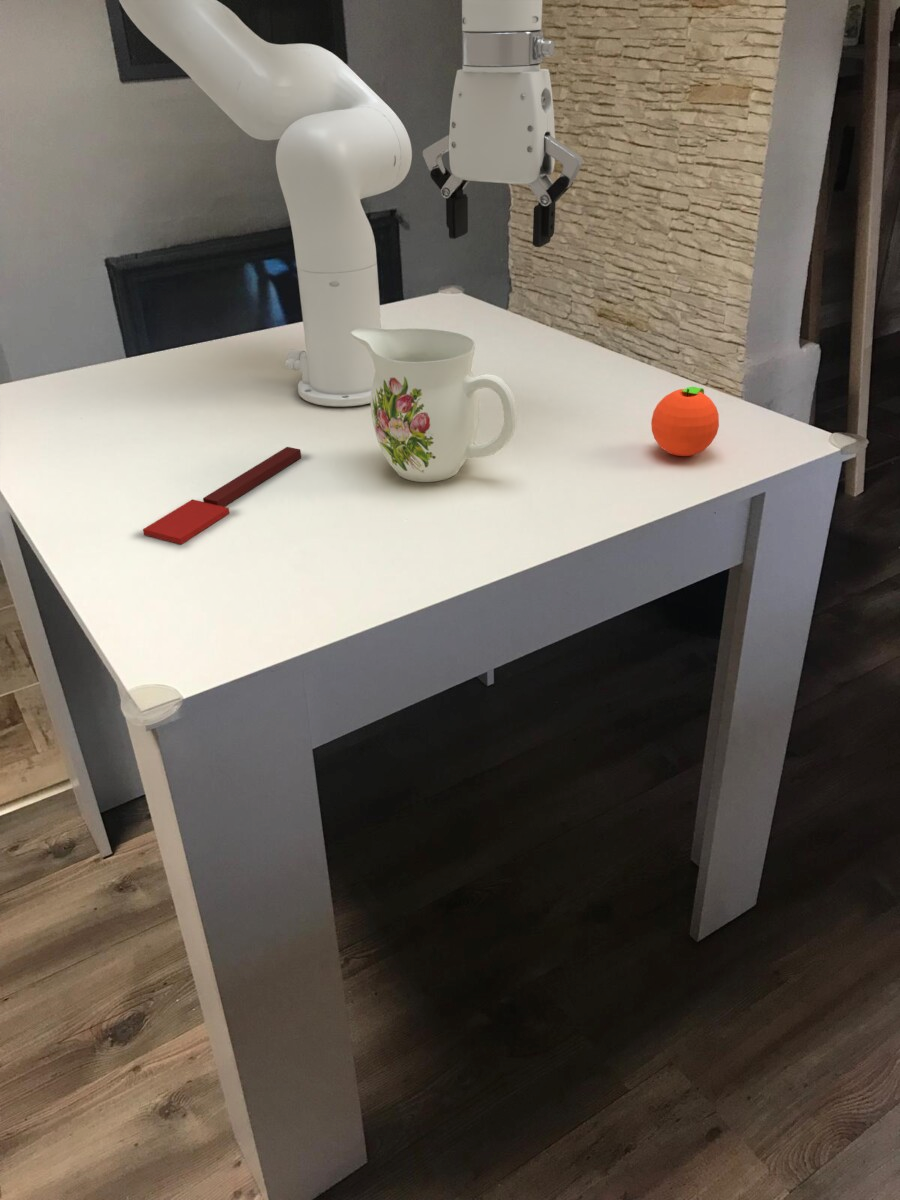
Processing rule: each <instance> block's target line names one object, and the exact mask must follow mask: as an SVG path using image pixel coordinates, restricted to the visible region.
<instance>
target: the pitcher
mask: <svg viewBox="0 0 900 1200" xmlns="http://www.w3.org/2000/svg"><path fill="white" fill-rule="evenodd" d="M351 336H352V337H353V338H354V339H356V340H357V341H359V342H360V343H361V344H362V345H364V346H365V347H366V348H367V350H368V352H369V354H370V356H371V358H372V360H373V363H374V367H375V370H376V371H375V375H374V380H373V384H372V389H371V403H370V413H371V418H372V425H373V429H374V433H375V437H376V439H377V442H378V444H379V447H380V449H381V451H382V453H383V456H384V458H385V459H386V461H387V462H388V464H389V465H390V466H391V468H392V469H393V470H394V471H395V472H396V473H397V475H398V476H399V477H400V478H402V479H405V480H408V481H412V482H416V483H417V482H418V483H433V482H440V481H445V480H447V479H450V478H452V477H453V476H455V475H457V474H458V473H459V471H460V469H461V468H462V467H463V465H464V463H466V460H467V459H478V458H486V457H489V456H492V455H495V454H496V453H498V452H500V451H501V450H502V449H504V448H505V446H507V444H508V443H509V442H510V441H511V439H512V437H513V435H514V433H515V430H516V426H517V404H516V399H515V396H514V393H513V391H512V390H511V388H510V386H509V385H508V384H507V382H506V381H505V380H504V379H503V378H501V377H500V376H498V375H495V374H481V375H478V376H474V373H473V371H472V369H473V368H472V367H473V361H474V355H475V348H476V343H475V341H474V340H473V339H472V338H471V337H469V336H468V335H465V334H462V333H459V332H454V331H449V330H443V329H432V328H381V329H371V328H367V329H356V330H353V331H352V332H351ZM480 389H489V390H492V391H493V392H494V393H496V395H497V396H498V397H499V399H500V402H501V404H502V410H503V423H502V427H501V430H500V432H499V433H498V434H497V436H495V437H494V438H493V439H491V440H489V441H487V442H483V443H475V440H476V436H477V431H478V427H479V422H480V395H479V394H480V393H479V390H480Z"/></svg>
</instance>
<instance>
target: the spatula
mask: <svg viewBox="0 0 900 1200" xmlns="http://www.w3.org/2000/svg"><path fill="white" fill-rule="evenodd" d="M301 458H302V452H301V449H300V448H296V447H295V448H294V447H291V446H286V447H284V448H282V449H281V450H279V451H277V452H276V453H274V454H273V455H271V456H269V457H268V458H266V459H264V460H263V461H261V462H260V463H258V464H256V465H254V466H253V467H251V468H249V469H248V470H247V471H244V472H243V473H242V474H240V475H238V476H237V477H235V478H233V479H232V480H230V481H229V482H227V483H225V484H223V485H222V486H221V487H218V488H217V489H216V490H213V491H212V492H211V493H209V494H208V495H205V496H204V497H203V498H202V501H200V500H197V499H193V498H191V499H190V500H189V501H187V502H185V503H184V504H182V505H181V506H179V507H177V508H176V509H174V510H172V511H171V512H169V513H167V514H165V515H164V516H162V517H161V518H158V519H157V520H156V521H154V522H152V523H151V524H149V525H147V526H146V527H144V528H142V531H143V535H144V536H148V537H151V538H155V539H159V540H163V541H167V542H171V543H175V544H178V545H183V544H184V543H186V542H188V541H189V540H190V539H192V538H194V537H195V536H196V535H198V534H200V533H201V532H203V531H204V530H206V529H207V528H208V527H210V526H213V525H214V524H215V523H216V522H218V521H220V520H221V519H224V518H225V517H226V516H228V515H229V514H230V509H229V507H227V505H229V504H230V503H232V502H234V501H236V500H237V499H239V498H241V496H243V495H245V494H246V493H248V492H250V491H251V490H253V489H254V488H256V487H257V486H259V485H260V484H262V483H263V482H265V481H267V480H269V479H270V478H271V477H273V476H274V475H276V474H278V473H279V472H281V471H283V470H284V469H286V468H287V467H289V466H291V465H292V464H294V463H295V462H297V461H298V460H300V459H301Z"/></svg>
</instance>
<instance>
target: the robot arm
mask: <svg viewBox="0 0 900 1200" xmlns="http://www.w3.org/2000/svg"><path fill="white" fill-rule="evenodd" d="M118 1H119V3H120V5H121V7H122V9H123V10H124V12H125V13H126V15H127V16H128V17H129V19H130V21H131V22H132V23H133V24H134V25H135V26H136V28H137V29H138V30H139V31H140V32H141V33H142V34H143V35H144V36H145V37H146V38H147V39H148V40H149V41H150V42H151V43H152V44H153V45H154V46H155V47H156V48H158V49H159V50H160V51H161V52H162V53H163V54H164V55H165V56H167V57H168V58H169V59H170V60H172V61H173V62H174V63H175V64H176V65H177V66H178V67H179V68H181V70H182V71H183V72H184V73H186V75H188V76H189V77H190V78H191V80H192V81H193V82H194V84H196V85H197V87H198V88H200V89H201V90H202V91H203V92H204V93H205V94H206V95H207V96H208V97H209V98H210V99H211V100H212V101H213V103H215V105H216V106H218V108H219V109H221V111H223V112H224V113H225V115H227V116H228V117H229V118H230V120H231V121H233V123H235V124H236V126H238V127H239V128H240V129H241V130H242V131H243V132H244V133H245V134H247V135H248V136H250V137H252V138H254V139H256V140H259V141H260V140H261V141H277V140H278V143H277V146H276V151H275V167H276V174H277V179H278V182H279V186H280V189H281V192H282V195H283V199H284V201H285V205H286V209H287V213H288V218H289V222H290V228H291V233H292V240H293V247H294V256H295V266H296V271H297V281H298V289H299V291H298V292H299V299H300V307H301V316H302V317H301V318H302V324H303V334H304V342H305V350H304V349H303V350H301V349H296V348H293V349H290V350H289V351H288V355H287V358H286V360H285V368H286V369H287V370H292V371H300V373H301V379H300V381H299V382H298V384H297V390H298V395H299V397H300V398H302V399H303V400H304V401H306V402H307V403H310V404H314V405H318V406H323V407H324V406H325V407H335V408H337V407H340V408H341V407H342V408H343V407H345V408H346V407H355V406H364V405H368V404H371V389H372V384H373V380H374V375H375V371H376V370H375V367H374V363H373V360H372V358H371V356H370V354H369V352H368V350H367V348H366V347H365V346H364V345H362V344H361V343H360V342H359V341H357V340H356V339H354V338H353V337H352V336H351V332H352V331H353V330H356V329H367V328H371V329H382V318H381V304H380V289H379V287H380V286H379V274H378V261H377V260H378V258H377V248H376V242H375V241H376V240H375V235H374V232H373V229H372V225H371V223H370V221H369V219H368V217H367V214H366V212H365V210H364V207H363V205H362V202H361V200H362V199H366V198H369V197H372V196H377V195H380V194H384V193H386V192H388V191H391V190H393V189H394V188H396V187H397V186H400V184H401V183H402V182H403V181H404V180H405V178H406V177H407V175H408V174H409V171H410V168H411V166H412V160H413V159H412V158H413V149H412V142H411V139H410V136H409V134H408V131H407V129H406V127H405V124H404V123H403V122H402V121H401V119H400V118H399V116H398V115H397V114H396V113H395V111H393V109H392V108H391V107H390V106H389V104H387V103H386V102H385V101H384V100H383V99H382V98H381V97H380V96H379V95H378V94H377V93H376V92H375V91H374V90H373V89H372V88H371V87H370V86H369V85H368V84H367V83H366V82H365V81H364V80H362V78H360V76H359V75H357V73H356V72H355V71H354V70H352V69H351V68H350V67H349V66H348V65H347V64H346V63H345V62H344V61H343V60H342V59H341V58H339V56H337V55H336V54H334V53H333V52H331V51H329V50H328V49H326V48H324V47H322V46H320V45H317V44H312V43H286V44H278V43H272V42H268V41H266V40H264V39H263V38H261V37H260V36H259V35H258V34H256V33H255V32H254V31H253V30H252V29H251V28H249V26H247V25H246V24H245V23H244V22H243V21H242V20H241V18H239V16H238V15H237V14H236V13H235V12H233V11H232V9H230V8H229V7H227V6H226V5H225V4H223V3H222V2H220V1H218V0H118ZM542 21H543V0H461V31H462V32H461V55H462V56H461V61H462V62H461V63H462V64H461V65H462V68H461V69H457V70H456V75H455V79H454V84H453V91H452V99H451V104H450V105H451V106H450V116H449V117H450V118H449V131H448V132H449V133H448V134H447V135H445V136H444V137H442V138H440V139H439V140H437V141H435V142H434V143H432V144H431V145H429V146H427V147H426V148H424V149H423V150H422V152H421V153H422V157H423V159H424V163H425V165H426V167H427V169H428V170H429V172H430V178H431V180H432V181H433V182H434V184H435V185H436V186H437V188H438V189H439V190H440V194H441V197H443V198H444V199H445V211H446V212H445V214H446V215H445V216H446V217H445V218H446V219H445V220H446V221H445V222H446V223H445V225H446V228H448V238H449V239H450V240H451V239H452V240H456V239H458V238H460V237H462V236H465V235H466V234H468V232H469V216H468V215H469V200H468V199H469V197H468V195H467V193H464V190H465V188H466V187H467V186H468V184H469V183H470V182H471V181H472V182H482V183H496V184H497V183H498V184H510V185H511V184H512V185H528V187H529V189H530V191H531V192H532V193H533V195H534V196H535V198H536V199H537V201H538V202H537V203H538V204H536V205H535V206H534V207H533V217H532V219H533V220H532V221H533V222H532V246H534V248H541V247H543V246H545V245H547V244H549V243H551V238H553V236H554V234H555V226H556V225H555V224H556V203H557V202H558V201H560V199H561V197H563V196H564V195H565V193H566V192H567V191H568V190H569V189H570V188H571V187H572V186H573V185H574V181H575V178H576V177H577V175H578V174H579V171H580V169H581V167H582V166H583V163H584V158H583V157H582V155H580V154H579V153H577V152H576V151H574V150H572V149H571V148H570V147H568V146H567V145H565V144H564V143H562V142H561V141H559V140H558V139H557V138H556V130H555V129H556V127H555V109H554V99H553V90H552V81H551V75H550V70H549V69H548V68H547V69H546V68H541V64H542V63H543V62H544V61H543V60H544V59H545V58H546V57H553V56H554V53H555V41H554V39H547V38H544V31H543V30H542V26H543V25H542V23H543V22H542ZM446 153H448V159H449V160H448V161H449V169H450V171H449V170H448V169H447V167H446V166H444V162H443V159H442V158H443V155H444V154H446ZM556 161H557V162H559V163H560V164H561V166H562V170H561V172H560V175H559V176H558V178H557V179H556V180H555V181H553V179H552V177H551V176H550V175H552V174H553V173H554V170H555V165H556V164H555V163H556ZM450 172H451V173H450Z"/></svg>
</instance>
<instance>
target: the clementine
mask: <svg viewBox="0 0 900 1200" xmlns="http://www.w3.org/2000/svg"><path fill="white" fill-rule="evenodd" d="M650 423H651V433H652V435H653V438H654V440H655V442H656V443H657V444H658V446H659V447H660V448H661V449H663V450H664V451H665V452H667V453H668V454H671V455H673V456H679V457H690V456H694V455H697V454H699V453H702V452H703V451H705V450H706V449H707V448H708V447H709V446H710V445H711V444H712V443H713V442H714V440H715V438H716V436H717V435H718V431H719V427H720V414H719V412H718V408H717V406H716V404H715V403H714V402H713V400H712V399H711V398H710V397H709V396H708V395H707V394H705V390H704V388H703V387H697V386H688V387H686V388H680V389H675V390H673V391H672V392H669V393H668V394H666V395H665V396H664V397H662V399H661V400H660V401H659V402H657V404H656V406H655V408H654V409H653V412H652V417H651V422H650Z"/></svg>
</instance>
